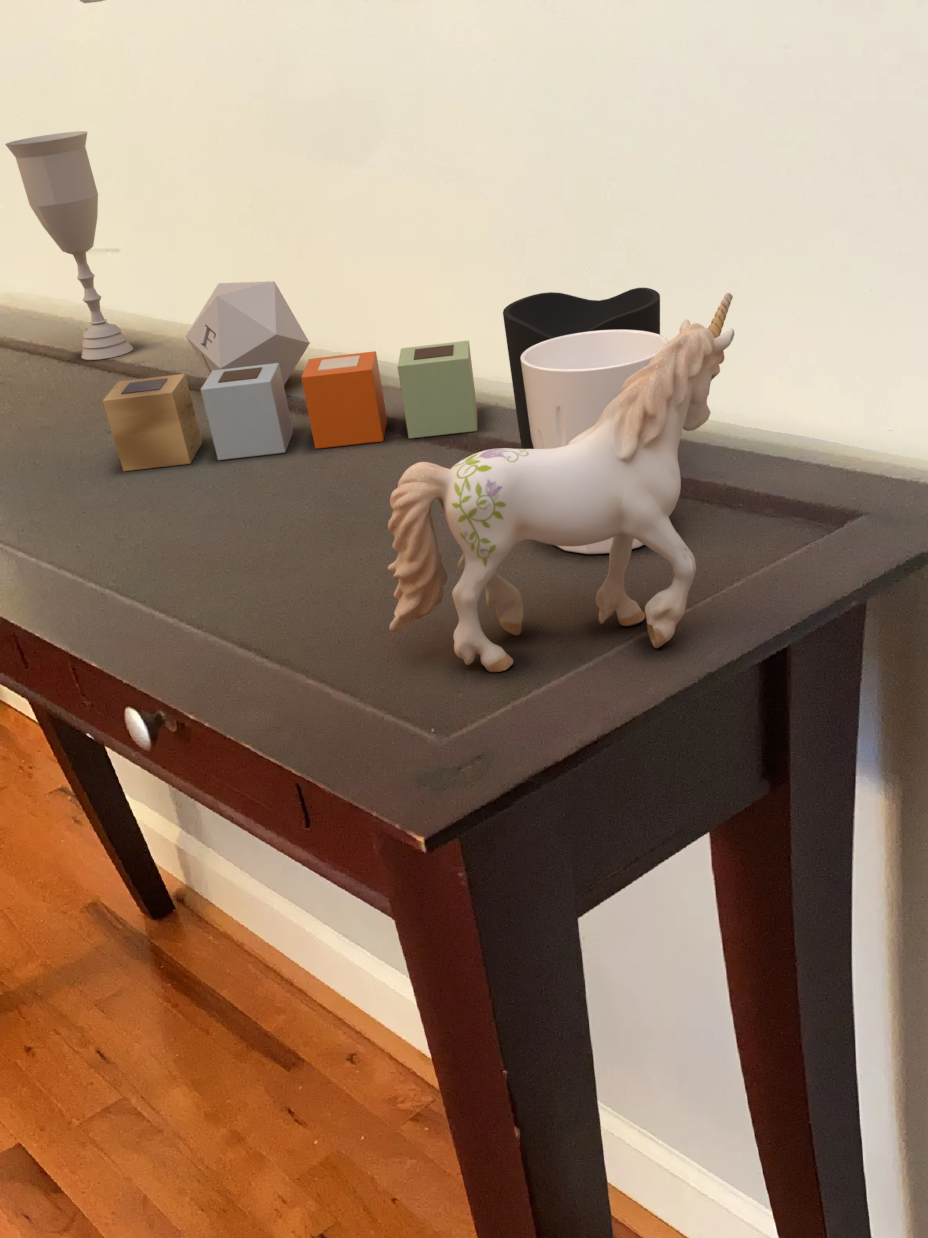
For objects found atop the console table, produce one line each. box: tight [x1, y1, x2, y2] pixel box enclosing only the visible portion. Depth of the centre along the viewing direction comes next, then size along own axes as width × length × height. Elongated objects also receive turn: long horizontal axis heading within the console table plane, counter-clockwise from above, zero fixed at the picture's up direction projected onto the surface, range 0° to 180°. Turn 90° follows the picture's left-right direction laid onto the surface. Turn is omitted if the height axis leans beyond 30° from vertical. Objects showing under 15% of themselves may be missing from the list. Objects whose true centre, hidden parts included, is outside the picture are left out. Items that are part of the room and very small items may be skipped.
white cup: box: [520, 330, 670, 555], centre depth 70 cm, size 8×8×10 cm
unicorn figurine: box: [387, 292, 735, 673], centre depth 59 cm, size 7×20×13 cm, turn 114°
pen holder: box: [502, 287, 661, 449], centre depth 79 cm, size 9×9×10 cm
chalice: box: [4, 130, 134, 361], centre depth 119 cm, size 7×7×18 cm
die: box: [185, 280, 311, 386], centre depth 104 cm, size 8×9×10 cm
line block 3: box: [397, 340, 478, 440], centre depth 92 cm, size 5×5×5 cm
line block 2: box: [200, 363, 294, 461], centre depth 92 cm, size 5×5×5 cm
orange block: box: [301, 351, 388, 450], centre depth 92 cm, size 5×5×5 cm
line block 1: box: [102, 373, 203, 472], centre depth 93 cm, size 5×5×5 cm
